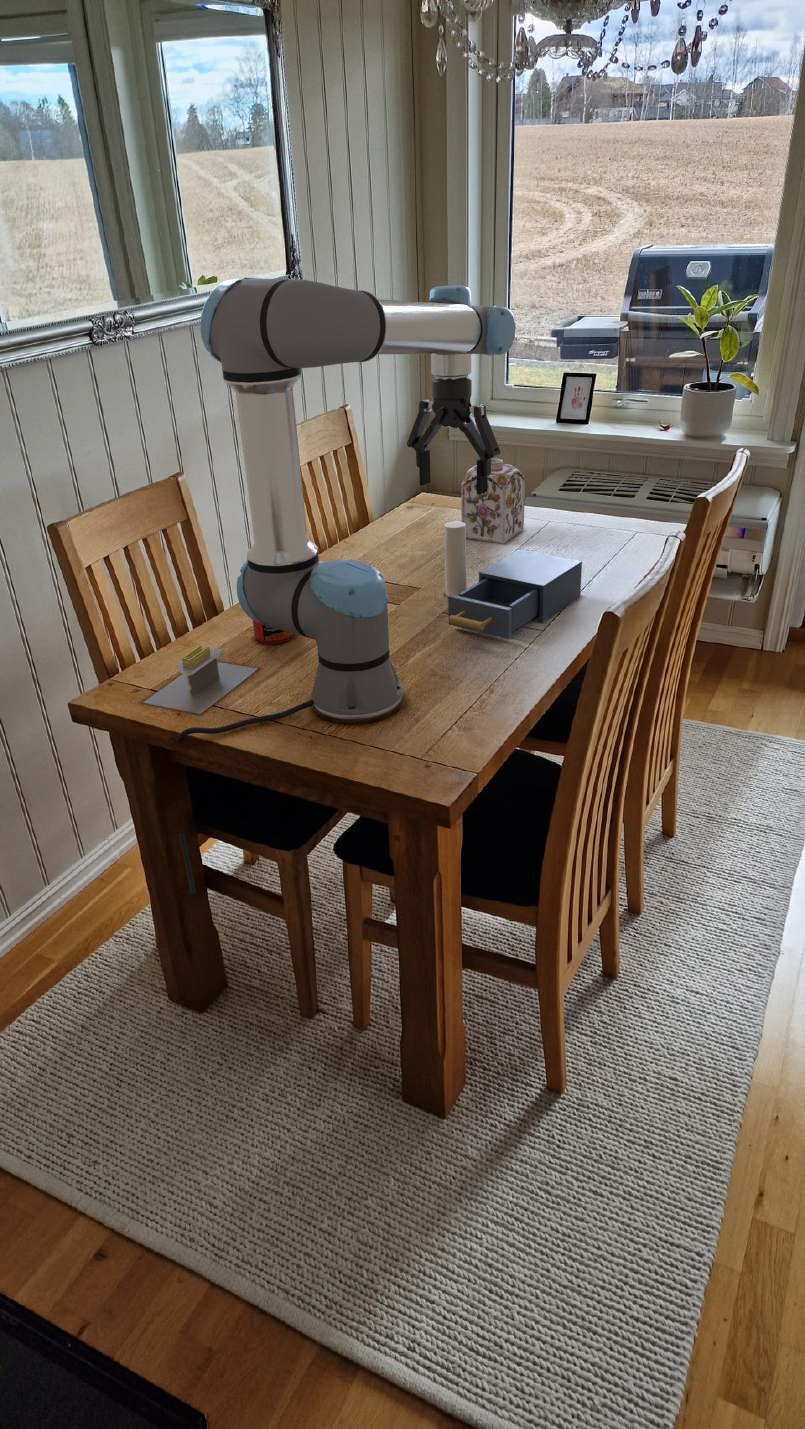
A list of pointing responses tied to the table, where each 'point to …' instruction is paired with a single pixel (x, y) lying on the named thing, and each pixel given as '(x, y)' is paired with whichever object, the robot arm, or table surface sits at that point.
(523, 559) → the cabinet
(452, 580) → the candle
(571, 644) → the table surface
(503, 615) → the drawer
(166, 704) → the platform
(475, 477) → the decorative jar
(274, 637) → the canned food
